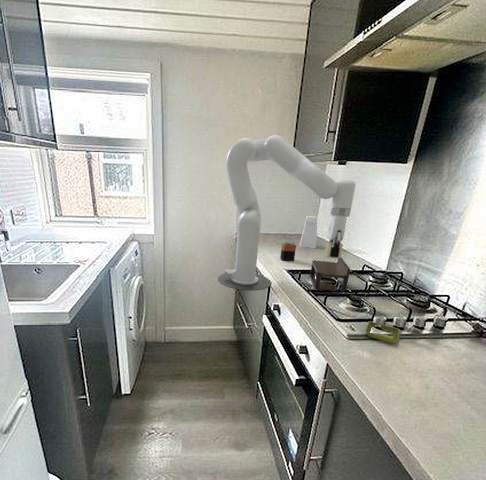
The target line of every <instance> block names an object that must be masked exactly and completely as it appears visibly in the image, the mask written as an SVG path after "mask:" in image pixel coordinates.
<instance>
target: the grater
mask: <svg viewBox="0 0 486 480" xmlns="http://www.w3.org/2000/svg"><path fill="white" fill-rule="evenodd" d="M308 218H314V216H310V215H307V216H306V217H305V219H308ZM316 218H317V221H316V222H311V221H305V222H304V226H303V230H302V234H301V238H300V241H299V247H300V248H306V247H308V248H307V249H315V248H316V249H317V238H318V237H317V236H318V221H319V218H318V217H316Z"/></svg>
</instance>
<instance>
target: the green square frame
mask: <svg viewBox="0 0 486 480" xmlns="http://www.w3.org/2000/svg"><path fill="white" fill-rule="evenodd" d="M377 324H378V322H375V321H370V320H369V321H368V322H367V324H366V328H365V333H366V335H367V336H368V337H369V338H372V339H376V340H378V341H381V342H386V343H389V344H396V343H397V342H399V340H400V334H401V333H400V332H401V330H400V329H399V328H398V327H394V326H390V325H386V324H382V323H379V324H380V325H381V329H382V330H384V331H390V332H393V333H395V334H394V335H393V336H388V335H377V334H374V333H370V331H371V328H372V327H375V325H377Z"/></svg>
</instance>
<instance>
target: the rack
mask: <svg viewBox="0 0 486 480" xmlns="http://www.w3.org/2000/svg"><path fill="white" fill-rule="evenodd" d="M315 273H316V274H315ZM350 273H351V268H350V266H349V265H348V264H347V263H346V261H345V260H344V259H343V258H342V256H341V257H340V258H337V262H335V261H325V260H316V259H315V260H312V261H311V268H310V273H309V278H310V281H311V284H312V288H313V287H314V288H313V290H314V289H317V290H331V291H336V290H338V289H337V287H336V286H334V285H332V284H326V283H323V282H320V281H321V276H325V277H334V278H337V279H338V281H339V282H340V280H339V279H342V283H341V282H340V284H341V285H342V287H341V291H346V292H347V287H348V283H349V278H350ZM315 275H317V276H316V279H315Z"/></svg>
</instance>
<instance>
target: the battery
mask: <svg viewBox="0 0 486 480" xmlns="http://www.w3.org/2000/svg"><path fill="white" fill-rule="evenodd" d="M296 249H297V245H296V244H295V243H294V242H290V243H289V242H288V241H284V242H282V243H281V250H280V255H279V257H280V258H279V259H280V260H281V261H283V262H294V261H295V256H296Z"/></svg>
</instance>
